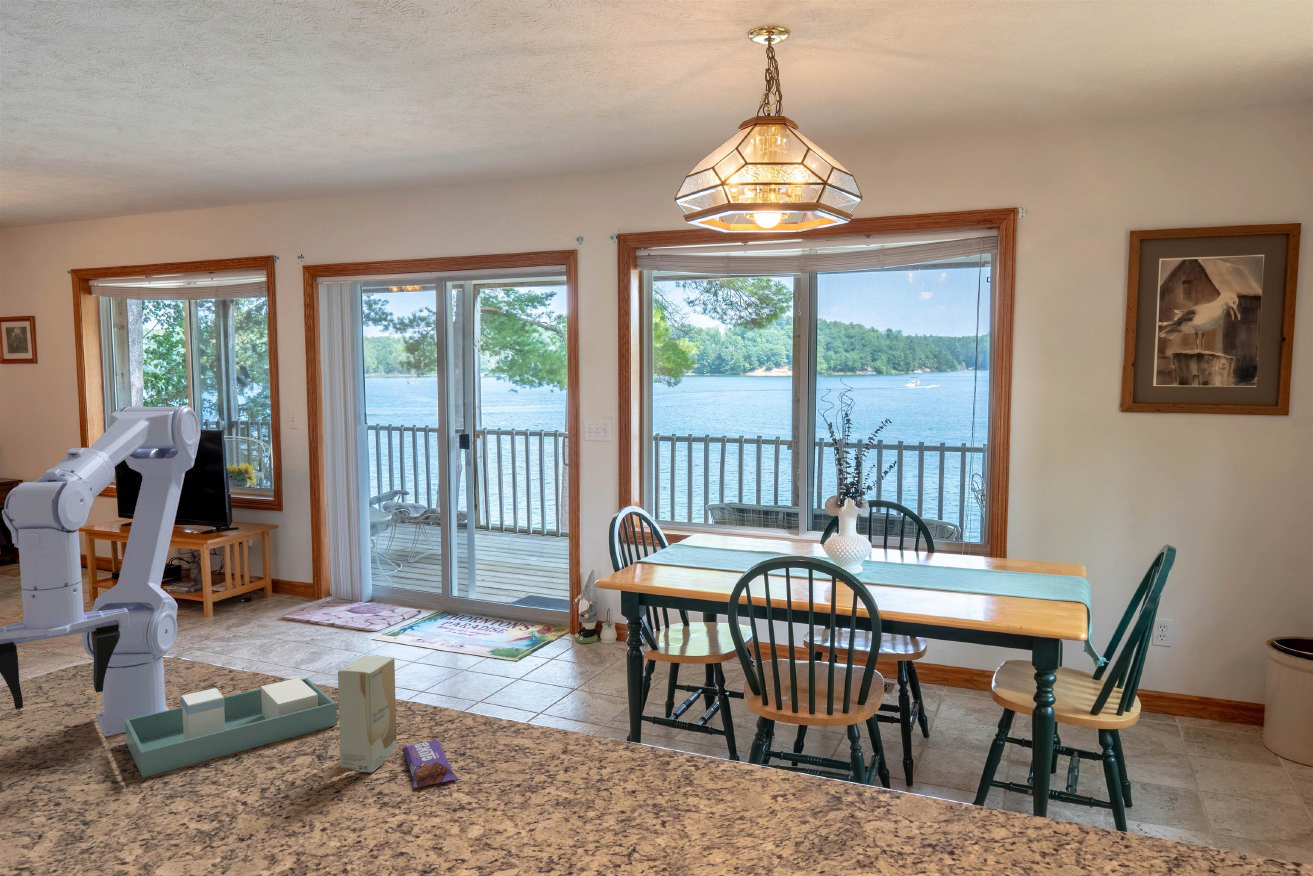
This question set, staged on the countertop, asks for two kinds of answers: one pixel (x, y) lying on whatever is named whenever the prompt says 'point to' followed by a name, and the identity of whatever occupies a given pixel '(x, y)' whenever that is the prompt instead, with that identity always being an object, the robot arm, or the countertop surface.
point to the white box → (287, 698)
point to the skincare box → (367, 713)
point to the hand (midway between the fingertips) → (59, 697)
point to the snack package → (428, 763)
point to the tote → (165, 749)
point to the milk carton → (203, 713)
